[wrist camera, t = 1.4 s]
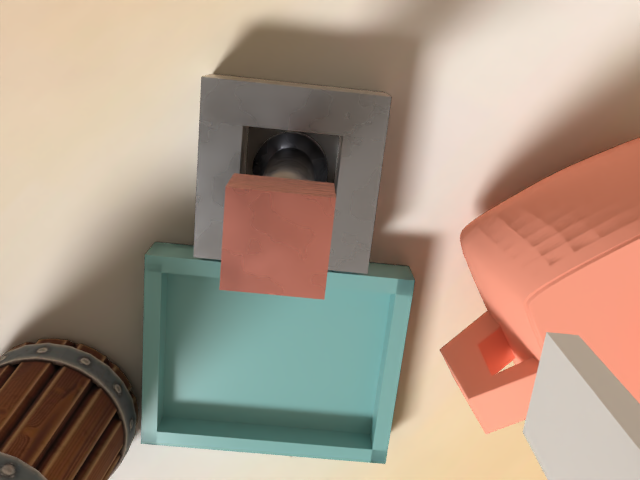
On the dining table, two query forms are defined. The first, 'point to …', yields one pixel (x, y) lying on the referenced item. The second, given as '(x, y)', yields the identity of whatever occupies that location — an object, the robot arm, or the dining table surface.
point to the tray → (271, 361)
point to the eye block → (295, 115)
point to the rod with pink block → (279, 221)
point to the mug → (63, 413)
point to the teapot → (553, 282)
